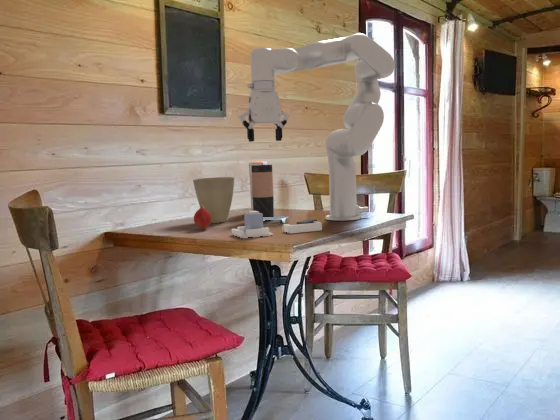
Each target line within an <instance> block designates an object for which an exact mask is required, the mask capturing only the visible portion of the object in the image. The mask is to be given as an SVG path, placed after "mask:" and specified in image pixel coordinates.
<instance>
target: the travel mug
mask: <svg viewBox="0 0 560 420" xmlns="http://www.w3.org/2000/svg"><path fill="white" fill-rule="evenodd" d="M273 174H274V173H273V164H267V165H259V166H254V165H252V197H253V211H259V213H262V214H263V217H275V215H274V213H275V211H274V210H275V209H274V207H275V206H274V205H275V204H274V201H275V199H274V195H275V194H274V180H273V177H274V176H273Z"/></svg>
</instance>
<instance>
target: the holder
mask: <svg viewBox="0 0 560 420" xmlns="http://www.w3.org/2000/svg"><path fill="white" fill-rule="evenodd" d="M233 235H234V236H233ZM271 235H272V236H273V235H274V233H273V232H270V227H263V228H257V229H246V233H245V225H244V226H243V225H242V226H237V227H236V228H231V236H233V237H235V236H237V237H236V238H238V237H240V238H239V239H241V238H243V239H249V238H248V237H253V238H261V237H260V236H263V237H270V236H271Z"/></svg>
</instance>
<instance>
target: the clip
mask: <svg viewBox="0 0 560 420" xmlns="http://www.w3.org/2000/svg"><path fill="white" fill-rule="evenodd" d="M283 228H284V233H286V232H287V233H286V234H297V233H298V234H300V233H308V232H317V231H322V230H323V223H322V222H320V221H318V220H317V221H313V223H309V224H298V225H297V224H289V223H286V224H285V223H284V224H283Z"/></svg>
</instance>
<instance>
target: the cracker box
mask: <svg viewBox="0 0 560 420" xmlns="http://www.w3.org/2000/svg"><path fill="white" fill-rule="evenodd" d="M252 165H254V166H259V165H268V161H266V160H265V161H264V160H258V161H256V160H255V161H251V162H249V163H248V170H249V189H250V191H249V192H250V206H251V210H250V211H253V197H252Z"/></svg>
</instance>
